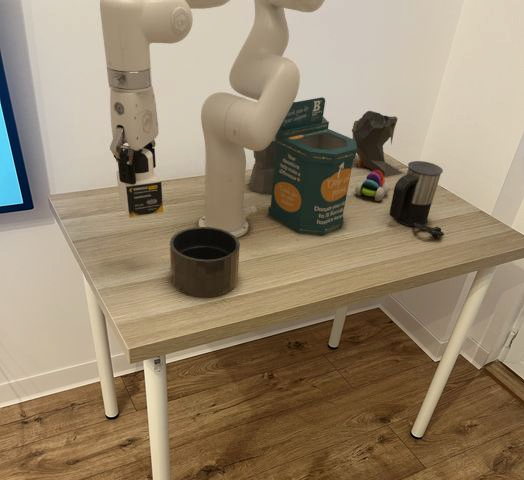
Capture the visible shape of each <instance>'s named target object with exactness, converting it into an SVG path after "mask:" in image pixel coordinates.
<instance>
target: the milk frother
mask: <svg viewBox="0 0 524 480" xmlns="http://www.w3.org/2000/svg"><path fill="white" fill-rule="evenodd" d="M407 167H408V168H407V171H406V174H404V175H402V176H401V177H400V178H399V179H398V180H397V182H396V183H395V186H394V187H393V194H392V199H391V202H390V208H389V216H390V217H392V218H394V219H395V220H396V222H398V223H400V224H402V225H405V226H409V227H415V228H416V229H418V230H420V231H424V232H425V233H426V232H427V233H428V234H430V235H431V236H432V237H433V238H434V237H435V238H439V237H443V236H444V235H445V232H443V231H442V228H441V227H439V226H434V227H432V226H427V224H428V222H429V221H428V219H429V218H428V217H429V215H430V212H431V211H430V210H431V208H432V204H433V201H434V197H435V195H436V191H437V187H438V185H439V182H440V178H441V176H442V175H441V174H443V173H444V170H443V168H442V167H441V166H440V165H437V164H435V163H433V162H429V161H424V160H413V161H410V162H408V163H407Z"/></svg>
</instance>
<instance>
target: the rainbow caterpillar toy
mask: <svg viewBox="0 0 524 480" xmlns="http://www.w3.org/2000/svg"><path fill="white" fill-rule="evenodd" d="M390 190H391V187H390V185H389V184H388V182H386V178H385V177H384V176H383V174H382V172H381V171H379V170H375V171H373V170H372V171H371V172H370V173H368V174H367V175H366V177H365V178H364V179H363V180H362V181H360V182H358V183H357V184H356V185H355V189H354V192H355V193H356V195H357V196H359V197H361V196H362V195H364V196H367V197H374V201H375V202H379V201H382V200H383V198H384V197H386V196H387V195H388V194H389V193H390Z"/></svg>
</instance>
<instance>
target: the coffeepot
mask: <svg viewBox="0 0 524 480" xmlns="http://www.w3.org/2000/svg"><path fill="white" fill-rule="evenodd" d="M275 136H276V135H275ZM252 152H253V159H254V163H253V166H252V171H251V175H250V179H249V182H248V185H249V188H250V190H252V191H253V192H256V193H259V194H265V195H266V194H267V195H268V194H272V187H273V177H274V166H275V156H276V146H275V137H274V139H273V140H272V142H271V143H270V144H269V146H268V147H267V148H265V149H264V150H261V151H253V150H252Z"/></svg>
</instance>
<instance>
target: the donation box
mask: <svg viewBox="0 0 524 480" xmlns="http://www.w3.org/2000/svg"><path fill="white" fill-rule="evenodd" d="M325 106H326V98H325V97H317V98H310V99H306V100H304V99H303V100H299V101H294V102H293V104H292V106H291V108H290V110H289V112H288V113H287V115H286V117H285V119H284V121H283V123H282V124H281V126H280V128H279V130H278V132H277V134H276V136H275V146H276V156H275V166H274V177H273V187H272V193H271V199H270V206H268V211H267V216H269V217H270V218H271V219H273V220H276V221H277V222H279V223H281V224H282V225H284V226H286V227H287V228H289V229H291V230H292V231H294V232H296V233H297V234H304V235H312V236H313V235H314V236H324V235H328V234H330V233H332V232H336V231H337V230H340V229H342V228H343V225H344V224H343V223H344V211H345V206H346V201H347V196H348V191H349V185H350V180H351V175H352V169H353V164H354V160H355V159H356V157H357V153H356V152H357V146H356V141H355V140H354V139H353V138H352V137H349V136H347V135H344V134H342V133H339V132H337V131H335V130H332V129H329V125H330V121H329V120H327V118H326V117H324V112H325Z"/></svg>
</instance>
